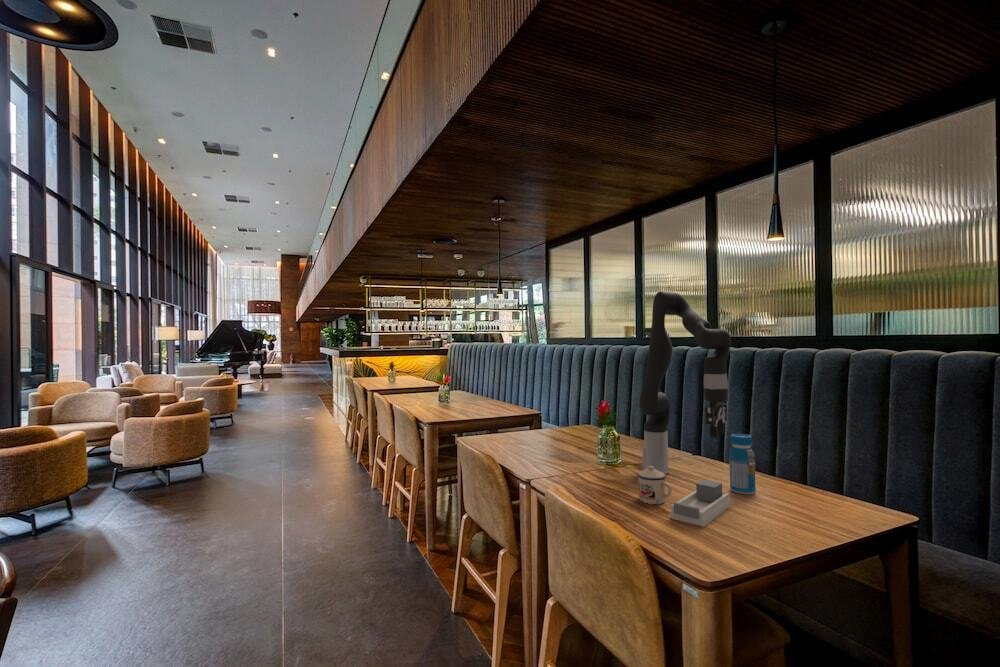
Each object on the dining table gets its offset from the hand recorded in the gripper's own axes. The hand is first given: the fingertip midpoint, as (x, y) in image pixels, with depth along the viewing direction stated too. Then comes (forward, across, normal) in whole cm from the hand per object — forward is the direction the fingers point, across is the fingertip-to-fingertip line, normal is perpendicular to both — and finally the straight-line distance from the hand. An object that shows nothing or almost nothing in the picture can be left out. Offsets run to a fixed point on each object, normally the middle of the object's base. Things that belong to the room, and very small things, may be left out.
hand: (717, 435), depth 155 cm
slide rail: (+22, +16, 0) cm, 27 cm away
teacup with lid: (+22, +16, -15) cm, 31 cm away
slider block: (+19, +9, 0) cm, 21 cm away
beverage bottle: (+22, -15, +3) cm, 27 cm away
